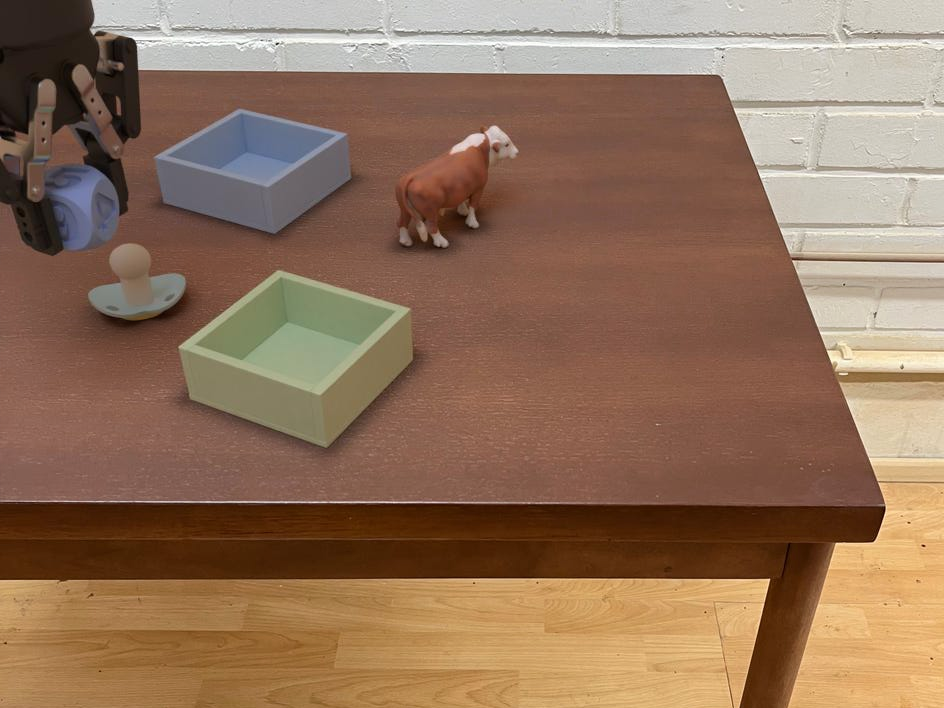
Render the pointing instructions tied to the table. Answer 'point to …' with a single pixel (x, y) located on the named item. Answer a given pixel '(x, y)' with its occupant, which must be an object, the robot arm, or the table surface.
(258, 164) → the bluegrey bin
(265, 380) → the sage bin
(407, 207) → the bull figurine
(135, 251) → the pacifier
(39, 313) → the table surface
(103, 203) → the decorative dice
